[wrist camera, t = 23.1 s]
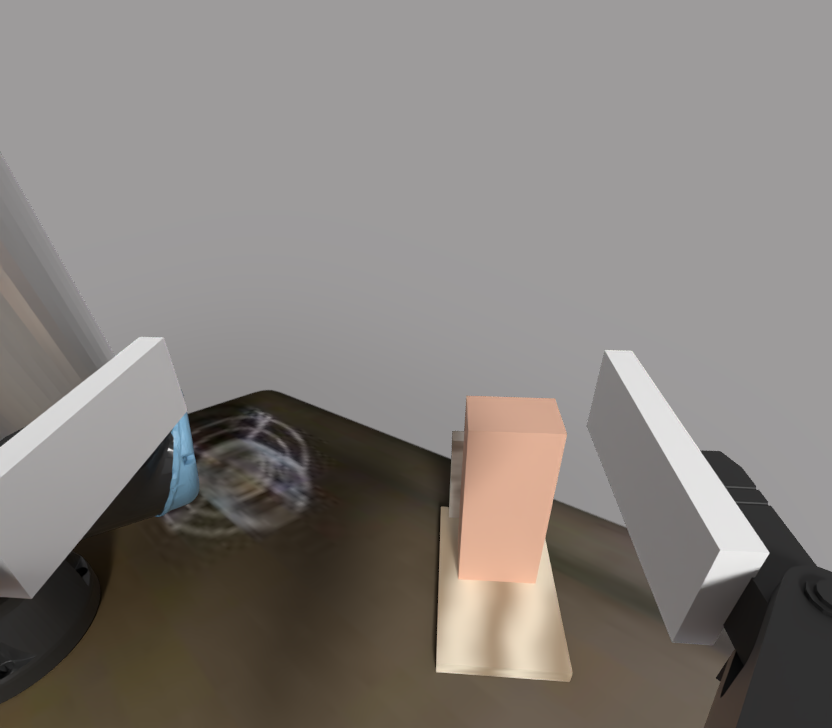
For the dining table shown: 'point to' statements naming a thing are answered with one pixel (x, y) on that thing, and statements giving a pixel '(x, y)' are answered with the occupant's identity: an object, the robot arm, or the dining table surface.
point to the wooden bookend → (495, 611)
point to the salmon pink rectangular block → (507, 486)
